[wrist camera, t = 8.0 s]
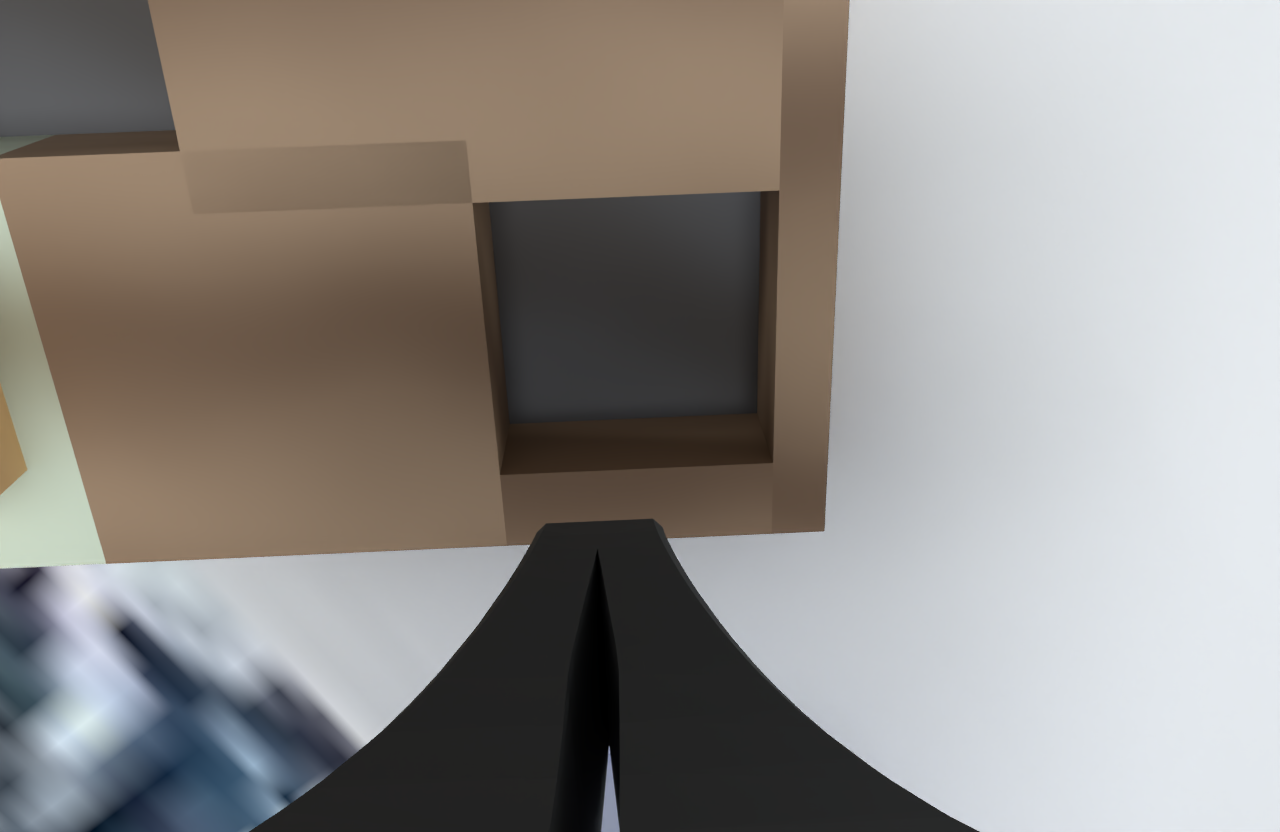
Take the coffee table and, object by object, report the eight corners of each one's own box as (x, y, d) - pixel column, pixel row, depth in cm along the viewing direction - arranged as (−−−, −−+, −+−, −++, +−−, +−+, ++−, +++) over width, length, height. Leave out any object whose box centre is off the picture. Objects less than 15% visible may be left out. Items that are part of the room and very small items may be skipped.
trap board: (801, 470, 22) (824, 531, 20) (-108, 510, 22) (-191, 577, 19) (830, -332, 16) (867, -376, 14) (-414, -291, 16) (-584, -328, 14)
